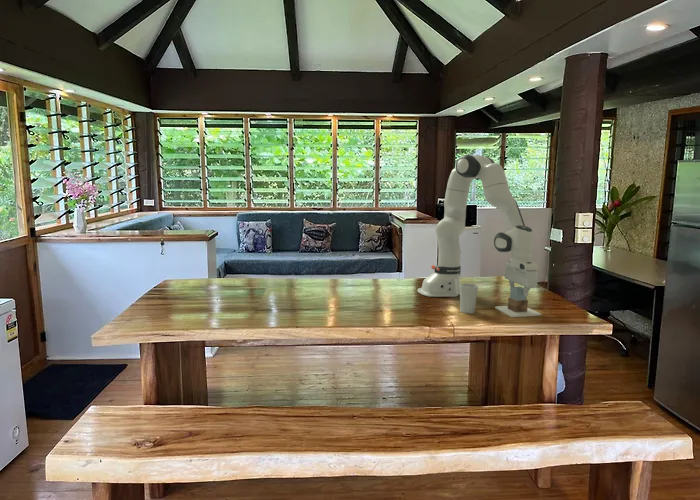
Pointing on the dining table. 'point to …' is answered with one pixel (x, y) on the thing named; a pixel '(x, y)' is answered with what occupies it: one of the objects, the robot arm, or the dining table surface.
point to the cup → (468, 297)
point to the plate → (517, 314)
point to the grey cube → (517, 293)
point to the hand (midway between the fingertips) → (518, 293)
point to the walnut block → (517, 305)
